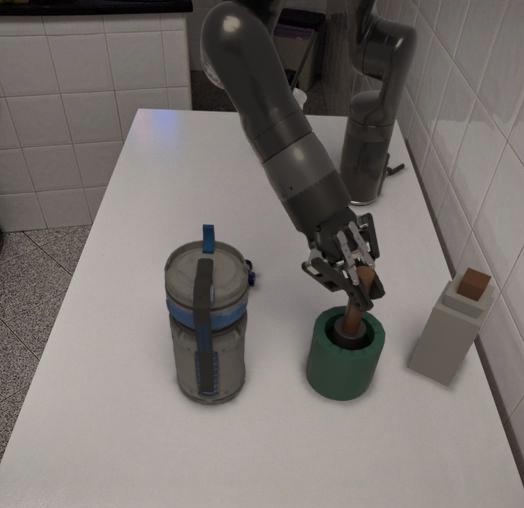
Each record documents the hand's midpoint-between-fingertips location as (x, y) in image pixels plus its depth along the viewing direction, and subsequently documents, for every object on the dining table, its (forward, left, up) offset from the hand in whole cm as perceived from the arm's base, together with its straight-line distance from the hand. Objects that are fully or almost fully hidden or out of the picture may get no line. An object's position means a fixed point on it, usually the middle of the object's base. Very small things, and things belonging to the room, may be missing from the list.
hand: (372, 303), depth 65 cm
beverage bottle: (+19, -10, -17) cm, 27 cm away
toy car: (+6, -30, -17) cm, 35 cm away
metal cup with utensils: (-25, -58, -17) cm, 65 cm away
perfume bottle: (-14, +4, -17) cm, 23 cm away
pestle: (+1, -2, -12) cm, 12 cm away
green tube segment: (+1, -2, -17) cm, 17 cm away
